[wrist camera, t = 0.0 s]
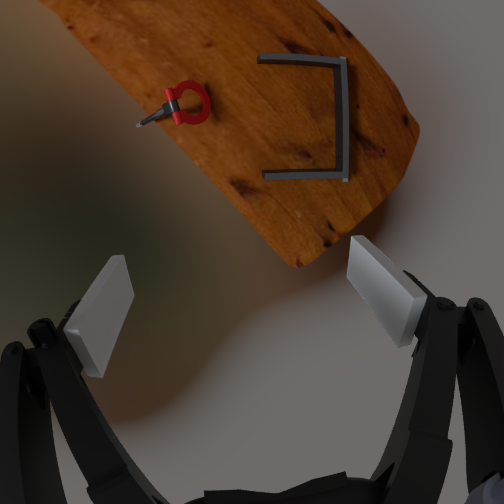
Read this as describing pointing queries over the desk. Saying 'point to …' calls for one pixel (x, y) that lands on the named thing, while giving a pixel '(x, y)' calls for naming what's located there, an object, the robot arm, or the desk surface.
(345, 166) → the bracket
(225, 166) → the desk surface
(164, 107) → the tow hook
